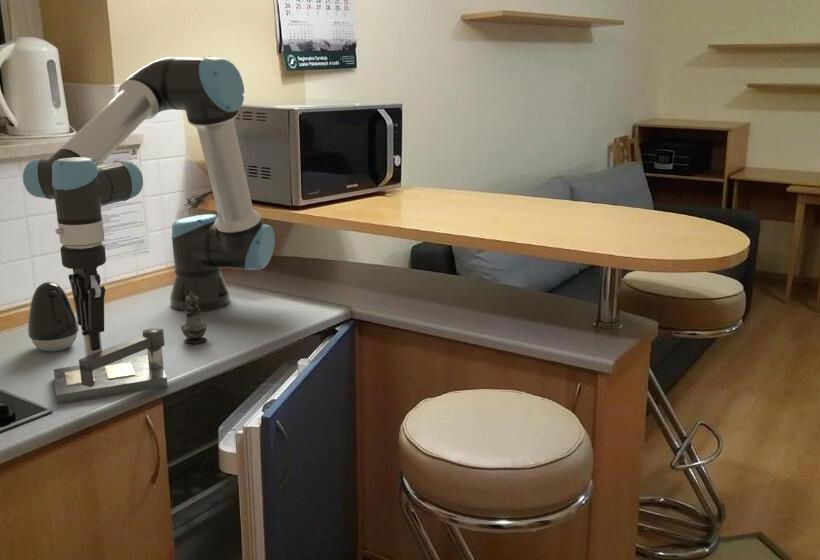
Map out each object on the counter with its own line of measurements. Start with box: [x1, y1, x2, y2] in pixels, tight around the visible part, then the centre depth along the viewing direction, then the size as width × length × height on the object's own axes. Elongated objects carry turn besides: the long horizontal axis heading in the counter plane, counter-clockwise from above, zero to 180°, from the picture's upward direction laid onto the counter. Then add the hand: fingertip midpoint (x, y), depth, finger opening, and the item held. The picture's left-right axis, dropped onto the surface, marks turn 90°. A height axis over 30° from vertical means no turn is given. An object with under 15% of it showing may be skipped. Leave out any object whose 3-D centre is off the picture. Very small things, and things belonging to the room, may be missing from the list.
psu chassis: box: [53, 346, 169, 406], centre depth 157 cm, size 20×14×6 cm
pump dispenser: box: [27, 281, 80, 352], centre depth 175 cm, size 10×10×15 cm
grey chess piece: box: [180, 291, 208, 346], centre depth 179 cm, size 6×6×12 cm
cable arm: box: [78, 327, 165, 387], centre depth 154 cm, size 19×4×6 cm, turn 151°
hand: (94, 364), depth 150 cm, fingers closed
